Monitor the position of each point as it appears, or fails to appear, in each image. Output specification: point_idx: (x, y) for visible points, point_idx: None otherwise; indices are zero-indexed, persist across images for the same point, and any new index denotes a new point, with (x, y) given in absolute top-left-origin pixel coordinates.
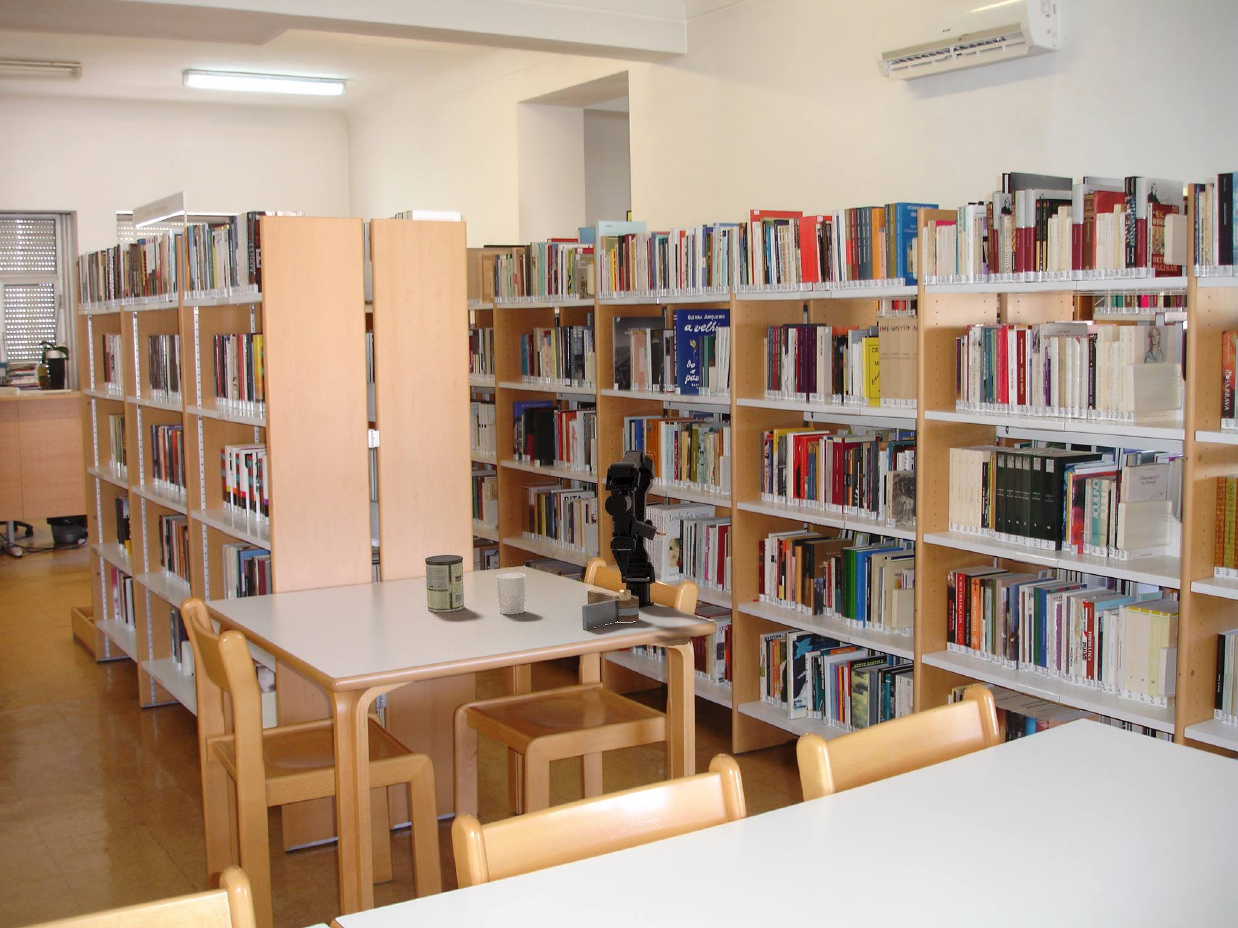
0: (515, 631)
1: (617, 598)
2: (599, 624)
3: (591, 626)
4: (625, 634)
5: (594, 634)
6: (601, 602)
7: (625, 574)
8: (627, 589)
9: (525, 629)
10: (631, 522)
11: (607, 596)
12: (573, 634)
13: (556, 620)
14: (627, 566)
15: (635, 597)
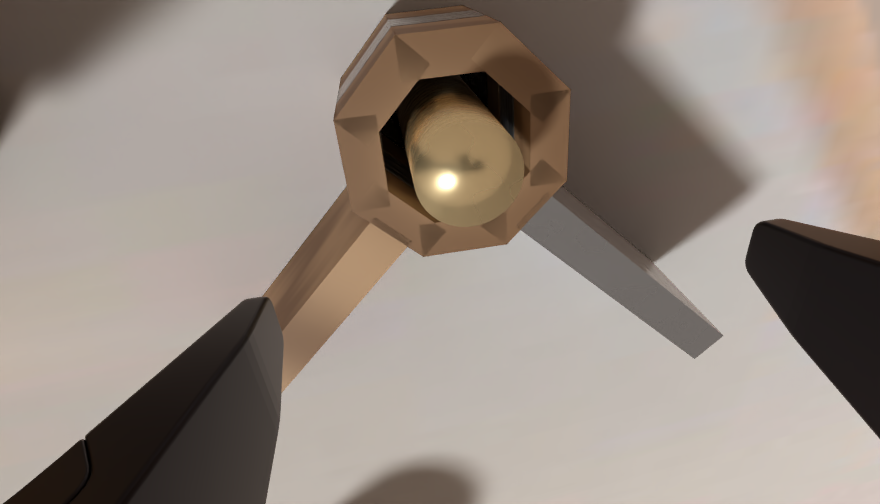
0: (631, 472)
1: (425, 211)
2: (602, 222)
3: (636, 250)
4: (787, 42)
5: (743, 207)
6: (618, 281)
7: (780, 221)
8: (430, 159)
9: (605, 457)
10: None
11: (363, 291)
12: (720, 292)
13: (451, 412)
14: (261, 304)
15: (438, 59)
